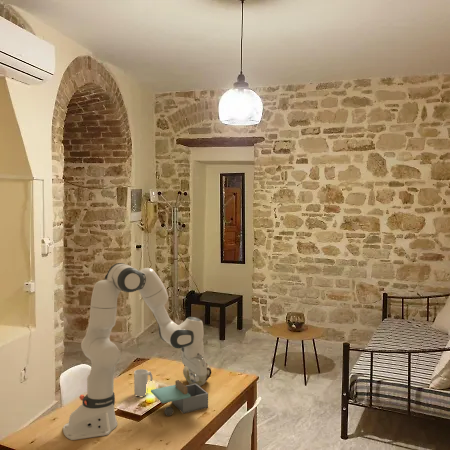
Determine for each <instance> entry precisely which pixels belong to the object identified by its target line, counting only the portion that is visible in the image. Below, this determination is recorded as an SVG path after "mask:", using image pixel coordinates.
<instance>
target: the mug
mask: <svg viewBox="0 0 450 450" xmlns="http://www.w3.org/2000/svg"><path fill="white" fill-rule="evenodd" d="M148 377H149V378H148ZM133 378H134V379H133V380H134V381H133V384H134V386H133V389H134V391H133V393H134V396H135V395H137V396H145V393H146V384H147V382H148V380H149V379H150V380H149V382H150V381H152V382H153V378H154V377H153V374H152V372H151V371H148V370H147V369H145V368H144V369H143V368H141V369H135V370H134V371H133ZM149 382H148V383H149ZM145 397H146V396H145Z"/></svg>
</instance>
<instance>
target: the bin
mask: <svg viewBox="0 0 450 450" xmlns="http://www.w3.org/2000/svg"><path fill="white" fill-rule="evenodd" d="M185 386H186V387H187V392H188V393H189V394H190V395H191V397H189V398H185V399H180V400H176V401H171V403H172V404H173V405H174V406H175V407H176V409H178V411H180V412H181V413H182V414H183V415H184V414H188V413H191V412H195V411H200V410H203V409H208V408H209V393H208V392H207V391H206V390H204V389H203V388H202V387H201V386H198V385H197V384H192V385H190V384H188V385H187V384H186V385H185Z"/></svg>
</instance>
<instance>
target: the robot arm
mask: <svg viewBox="0 0 450 450" xmlns="http://www.w3.org/2000/svg"><path fill="white" fill-rule="evenodd" d="M122 291H123V292H125V293H133V292H136V291H138V292H139V294H140V296H141V297H142V300H143V301H144V303H145V304H146V306H147V307H148V308H149V309H150V311H151V312H152V314H153V317H154V318H155V321H156V323H157V326H158V335H159V337H160V339H161V340H162V341H163V342H166V343H167V344H168V345H169V346H171V347H172V348H175V349H180V350H181V362H182V365H185V366H187V367H188V371H189V376H191V375H192V374H194V373H193V372H195V375H196V376H195V377H194V380H195V381H196V382H197V381H199V377H201V376H206V374H207V365H206V363H207V361H206V358H204V340H203V339H204V334H205V333H204V323H203V320H202V319H200V318H199V317H197V316H196V317H195V316H188V317H187V318H186V319H185V320H184V321H182V322H181V323H180V324H178V323H176V322H175V321H173V320H172V319H171V317H170V316H169V313H168V311H167V309H166V307H165V305H166V304H167V303H168V301H169V294H168V290H167V289H166V287H165V285H164V283H163V281H162V279H161V278H160V277H159V275H158V274H157V273H156V271H155V270H154V268H151V267H144V268H141V269H139V270H138V269H137V268H136V267H133V266H132V265H130V264H126V263H123V262H118V263H114V264H113V265H112V266H111V267H110V268H109V269H108V271H107V273H106V275H105V277H104V279H101V280H99V281H97V282H95V284H94V285H93V289H92V294H91V298H90V299H91V300H90V308H89V309H90V310H89V319H88V320H89V321H88V326H87V330H86V332H85V336H84V337H83V338H82V340H81V343H80V348H81V351H82V353H83V355H84V356H85V358H87V359H89V360H90V363H91V364H90V365H91V367H90V372H89V374H88V375H87V378H86V385H87V386H86V390H87V392H86V395H84V394H80V396H78V397H79V400H80V401H82V404H81V405H80V406H78V407H77V408H76V409H74V411H72V412H71V413H70V415H69V418H68V423H65V424H64V425H63V427H62V432H63V435H64V436H65V437H66V438H67V439H68V440H70V441H75V440H83V439H88V438H89V439H90V438H96V437H103V436H108V435H110V433H111V432H112V431H113V430H115V429H116V428H117V426H118V421H117V417H116V413H115V405H116V404H115V403H116V396H115V395H116V394H115V392H114V380H115V379H114V378H115V377H114V376H115V371H116V367H117V365H118V364H119V362H120V361H121V359H122V354H121V351H120V349H119V347H118V345H117V344H116V343H115V342H113V341H111V339H110V336H111V332H112V330H113V328H114V327H115V326H116V324H117V310H118V298H119V296H120V295H119V294H120V293H121V292H122ZM185 366H184V367H185Z"/></svg>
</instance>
